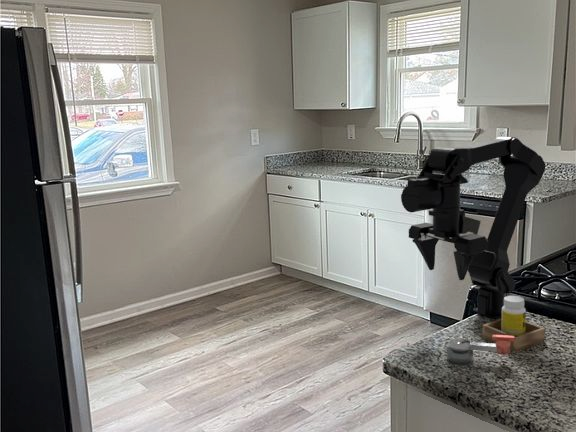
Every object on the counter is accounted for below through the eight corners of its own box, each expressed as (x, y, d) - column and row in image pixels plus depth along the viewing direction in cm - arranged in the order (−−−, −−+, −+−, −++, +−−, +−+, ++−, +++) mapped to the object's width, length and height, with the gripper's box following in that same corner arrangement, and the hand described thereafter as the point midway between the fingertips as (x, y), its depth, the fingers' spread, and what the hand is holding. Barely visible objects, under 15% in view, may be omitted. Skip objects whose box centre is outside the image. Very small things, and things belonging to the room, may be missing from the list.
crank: (449, 352, 110) (449, 337, 110) (449, 343, 114) (449, 329, 114) (514, 357, 107) (515, 341, 107) (512, 348, 111) (513, 332, 110)
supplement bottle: (527, 341, 117) (528, 303, 115) (503, 340, 118) (503, 302, 116) (522, 332, 121) (523, 294, 119) (499, 331, 122) (500, 294, 120)
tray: (510, 328, 125) (510, 315, 125) (544, 341, 118) (545, 328, 117) (482, 337, 121) (482, 324, 121) (516, 352, 114) (516, 338, 113)
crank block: (459, 351, 116) (459, 342, 115) (478, 360, 111) (478, 351, 111) (441, 357, 113) (441, 348, 113) (459, 367, 109) (460, 357, 109)
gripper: (507, 206, 118) (505, 277, 121) (443, 195, 134) (442, 258, 137) (468, 214, 112) (468, 288, 116) (406, 202, 129) (407, 267, 132)
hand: (446, 274), depth 125 cm, fingers open, 9 cm apart
